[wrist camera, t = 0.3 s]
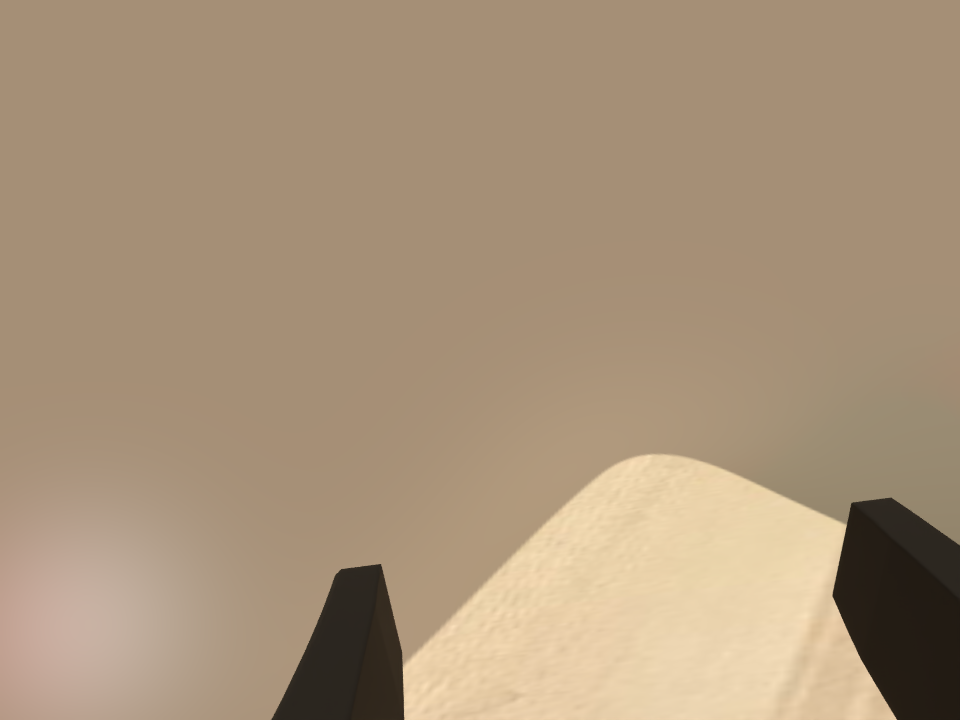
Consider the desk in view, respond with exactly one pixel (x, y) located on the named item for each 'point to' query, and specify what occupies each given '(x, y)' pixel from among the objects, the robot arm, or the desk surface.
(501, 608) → the desk surface
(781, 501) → the desk surface
